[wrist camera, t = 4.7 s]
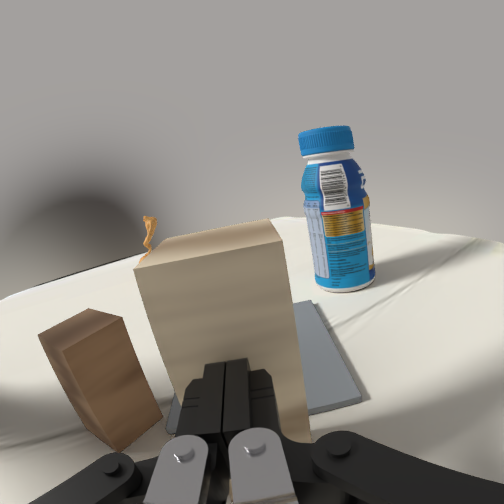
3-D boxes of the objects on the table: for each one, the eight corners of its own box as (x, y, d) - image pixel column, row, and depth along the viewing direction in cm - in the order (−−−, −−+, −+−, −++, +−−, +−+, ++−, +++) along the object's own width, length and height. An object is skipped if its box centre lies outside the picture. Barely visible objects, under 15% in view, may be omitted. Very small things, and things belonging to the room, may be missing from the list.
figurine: (143, 270, 69) (129, 218, 66) (168, 264, 70) (155, 211, 67) (140, 280, 61) (125, 222, 58) (169, 273, 62) (154, 214, 60)
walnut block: (85, 427, 21) (37, 335, 18) (126, 398, 25) (88, 308, 22) (118, 453, 18) (62, 350, 16) (163, 416, 22) (122, 316, 20)
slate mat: (361, 401, 20) (361, 395, 20) (168, 433, 20) (165, 428, 20) (311, 304, 37) (310, 299, 37) (195, 325, 37) (194, 321, 37)
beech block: (316, 489, 14) (282, 240, 10) (227, 501, 14) (133, 269, 10) (303, 431, 18) (268, 218, 15) (228, 443, 18) (165, 238, 15)
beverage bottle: (302, 287, 43) (276, 137, 38) (340, 267, 47) (320, 133, 42) (352, 299, 36) (327, 123, 31) (388, 275, 41) (369, 124, 36)
